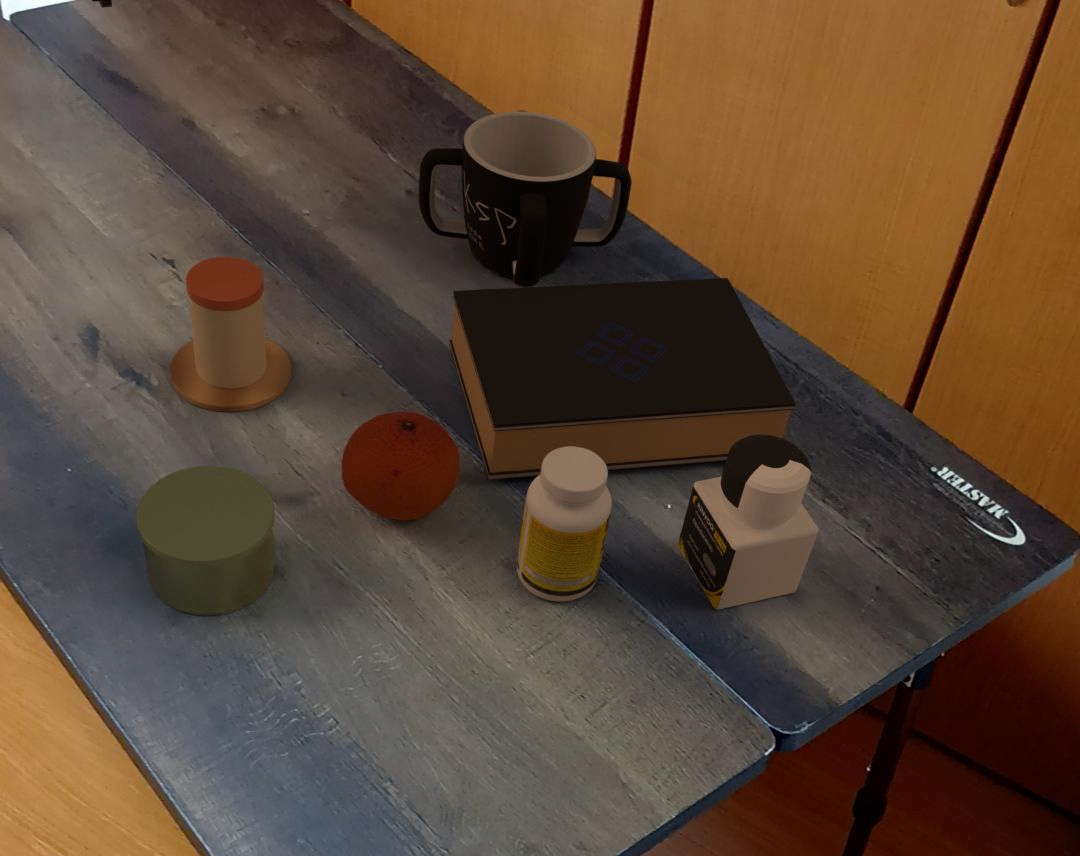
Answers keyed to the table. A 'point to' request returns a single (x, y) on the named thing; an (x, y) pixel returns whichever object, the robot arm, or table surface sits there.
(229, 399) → the coaster
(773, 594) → the medicine bottle
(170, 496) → the tin
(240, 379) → the canister
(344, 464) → the fruit
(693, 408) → the book
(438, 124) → the table surface
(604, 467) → the pill bottle
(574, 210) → the mug
